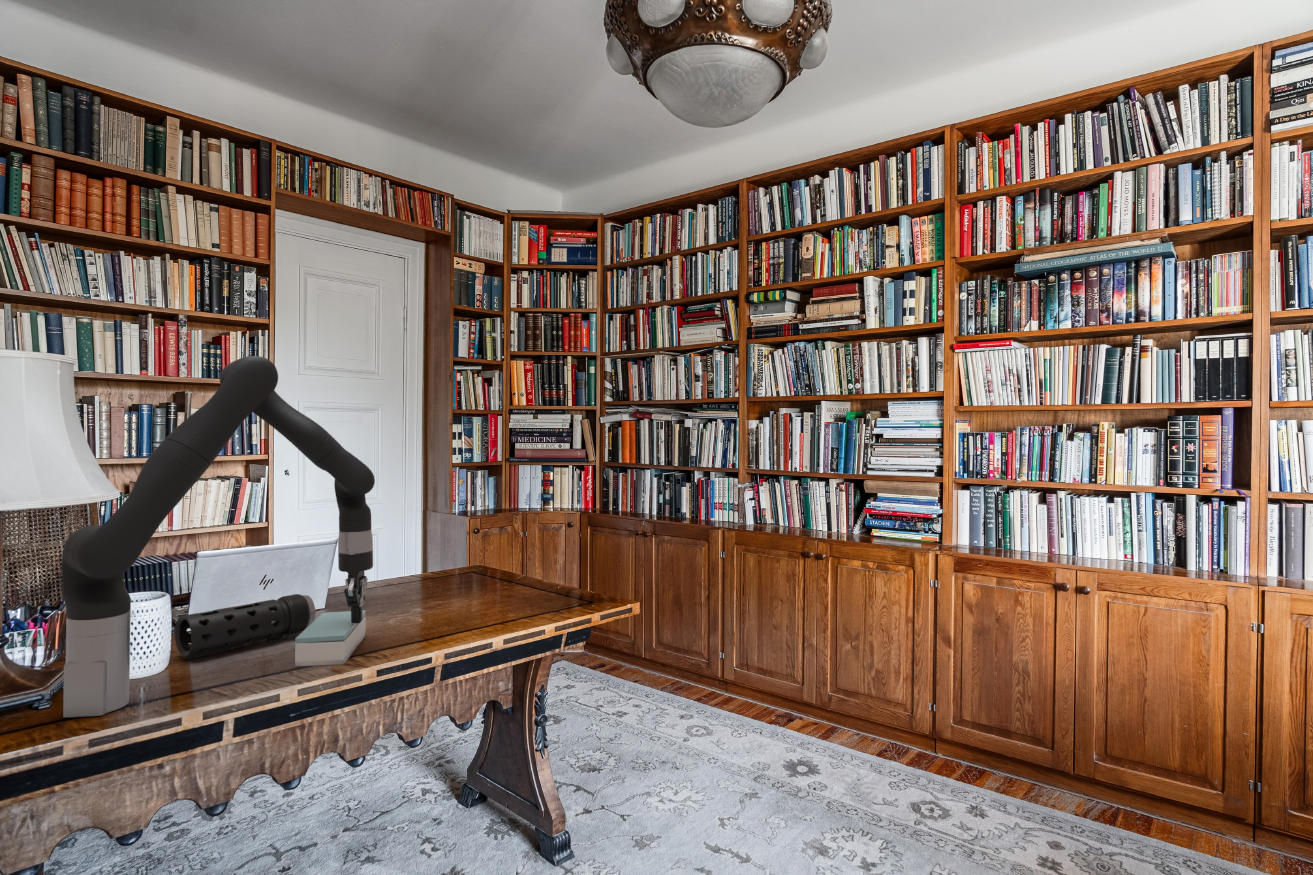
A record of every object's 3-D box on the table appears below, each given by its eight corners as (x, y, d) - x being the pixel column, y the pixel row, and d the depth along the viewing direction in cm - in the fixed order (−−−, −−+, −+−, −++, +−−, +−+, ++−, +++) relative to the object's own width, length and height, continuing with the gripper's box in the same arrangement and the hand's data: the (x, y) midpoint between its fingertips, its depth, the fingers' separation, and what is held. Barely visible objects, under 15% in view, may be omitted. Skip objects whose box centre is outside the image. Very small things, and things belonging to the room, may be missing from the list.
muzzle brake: (173, 657, 158) (174, 611, 157) (297, 629, 181) (297, 589, 180) (192, 665, 152) (192, 618, 152) (317, 636, 175) (317, 595, 175)
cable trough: (344, 664, 154) (344, 641, 154) (295, 666, 153) (295, 643, 153) (365, 635, 176) (365, 615, 176) (322, 637, 174) (323, 616, 174)
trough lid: (344, 639, 154) (344, 635, 154) (295, 643, 153) (295, 638, 152) (365, 614, 176) (365, 610, 176) (323, 616, 174) (322, 612, 174)
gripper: (345, 545, 171) (346, 615, 171) (331, 555, 158) (332, 631, 158) (378, 543, 172) (379, 613, 173) (366, 553, 159) (367, 629, 160)
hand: (356, 622), depth 165 cm, fingers closed
